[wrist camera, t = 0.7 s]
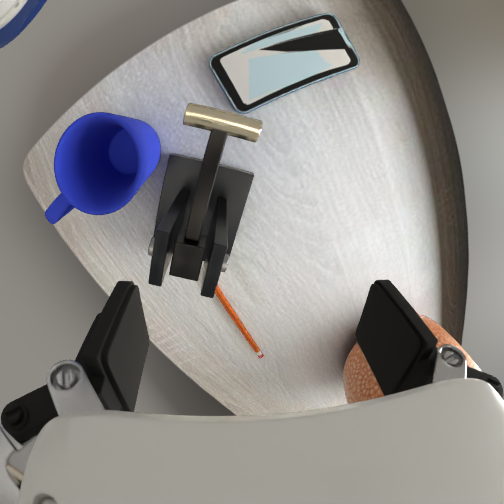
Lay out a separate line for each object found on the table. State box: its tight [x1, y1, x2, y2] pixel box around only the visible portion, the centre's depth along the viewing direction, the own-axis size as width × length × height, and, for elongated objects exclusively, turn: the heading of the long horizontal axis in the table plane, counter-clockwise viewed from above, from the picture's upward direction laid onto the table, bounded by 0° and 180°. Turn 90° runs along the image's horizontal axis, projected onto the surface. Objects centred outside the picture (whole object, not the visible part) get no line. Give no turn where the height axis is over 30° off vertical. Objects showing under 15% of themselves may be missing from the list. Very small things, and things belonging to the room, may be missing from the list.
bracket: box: [148, 153, 254, 298], centre depth 25 cm, size 11×9×13 cm
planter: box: [343, 314, 481, 404], centre depth 35 cm, size 21×21×19 cm
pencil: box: [202, 268, 264, 358], centre depth 38 cm, size 1×18×1 cm, turn 25°
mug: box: [45, 112, 161, 224], centre depth 23 cm, size 8×12×10 cm
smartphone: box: [209, 13, 360, 114], centre depth 24 cm, size 7×1×15 cm
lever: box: [169, 103, 263, 281], centre depth 19 cm, size 12×5×2 cm, turn 163°
